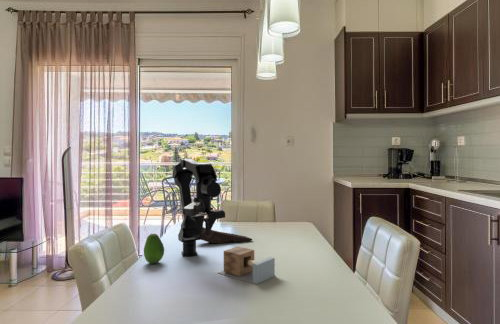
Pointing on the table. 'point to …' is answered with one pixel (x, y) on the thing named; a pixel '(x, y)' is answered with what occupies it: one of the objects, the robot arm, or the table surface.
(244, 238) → the stone
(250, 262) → the gray angle bracket
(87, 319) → the table surface
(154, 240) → the fruit
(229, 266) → the walnut block
